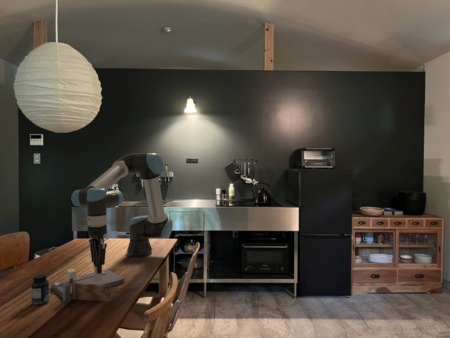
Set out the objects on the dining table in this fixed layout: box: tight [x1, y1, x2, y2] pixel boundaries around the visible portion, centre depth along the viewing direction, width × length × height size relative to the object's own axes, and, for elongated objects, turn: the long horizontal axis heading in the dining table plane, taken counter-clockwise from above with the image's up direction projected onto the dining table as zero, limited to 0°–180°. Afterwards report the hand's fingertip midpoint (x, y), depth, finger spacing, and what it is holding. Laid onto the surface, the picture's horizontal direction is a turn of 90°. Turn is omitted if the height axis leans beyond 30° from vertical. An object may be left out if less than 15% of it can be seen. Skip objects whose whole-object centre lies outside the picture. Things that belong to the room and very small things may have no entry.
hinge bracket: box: [62, 283, 72, 304], centre depth 126 cm, size 2×3×7 cm, turn 45°
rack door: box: [71, 282, 112, 302], centre depth 127 cm, size 17×2×7 cm, turn 80°
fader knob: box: [66, 268, 77, 282], centre depth 142 cm, size 2×4×5 cm, turn 44°
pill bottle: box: [30, 273, 50, 307], centre depth 125 cm, size 6×6×11 cm
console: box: [51, 268, 125, 299], centre depth 143 cm, size 26×18×3 cm
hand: (98, 280), depth 132 cm, fingers closed
